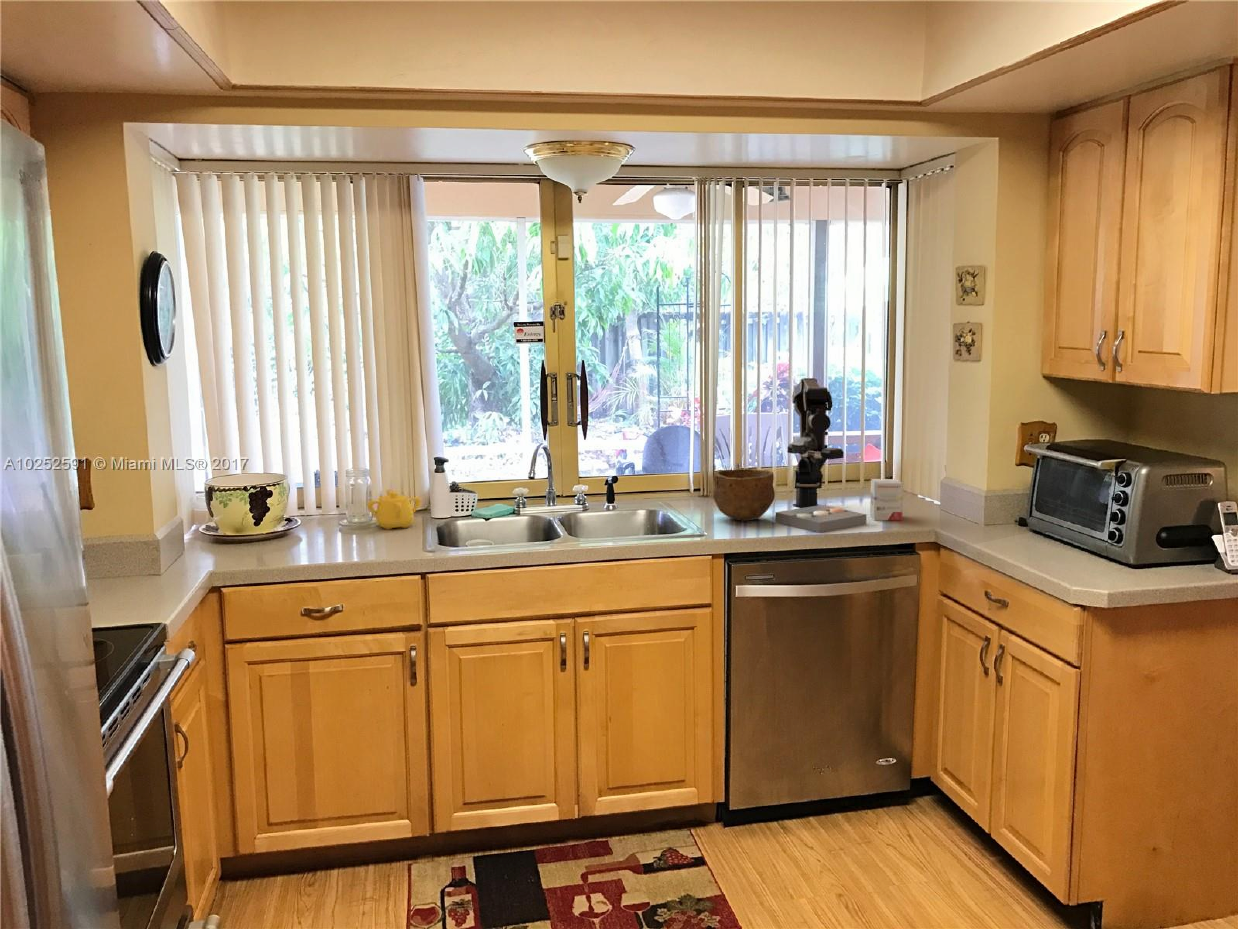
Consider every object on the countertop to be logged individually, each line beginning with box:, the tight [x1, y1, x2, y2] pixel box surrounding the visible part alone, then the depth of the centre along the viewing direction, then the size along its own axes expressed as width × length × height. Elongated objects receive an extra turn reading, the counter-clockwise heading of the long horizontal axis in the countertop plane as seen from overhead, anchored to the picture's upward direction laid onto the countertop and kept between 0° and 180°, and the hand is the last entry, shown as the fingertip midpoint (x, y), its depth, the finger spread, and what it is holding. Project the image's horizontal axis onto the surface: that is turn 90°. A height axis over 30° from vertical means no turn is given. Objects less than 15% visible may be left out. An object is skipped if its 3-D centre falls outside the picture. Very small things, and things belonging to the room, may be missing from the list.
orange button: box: [830, 507, 846, 513], centre depth 297 cm, size 4×4×3 cm
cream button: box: [813, 511, 828, 516], centre depth 293 cm, size 4×4×3 cm
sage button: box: [797, 513, 812, 519], centre depth 289 cm, size 4×4×3 cm
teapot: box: [366, 489, 422, 530], centre depth 290 cm, size 14×13×10 cm
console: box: [774, 504, 867, 533], centre depth 293 cm, size 18×20×3 cm
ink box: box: [869, 478, 904, 521], centre depth 300 cm, size 9×9×12 cm
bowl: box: [712, 468, 776, 521], centre depth 297 cm, size 19×19×15 cm
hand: (814, 478), depth 301 cm, fingers closed
